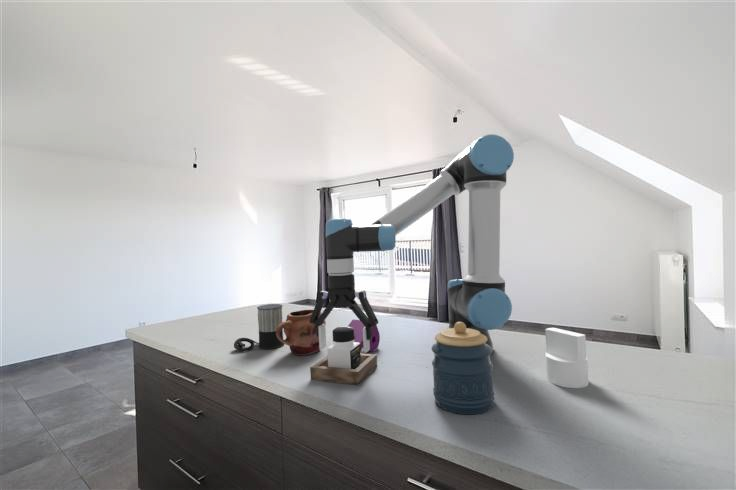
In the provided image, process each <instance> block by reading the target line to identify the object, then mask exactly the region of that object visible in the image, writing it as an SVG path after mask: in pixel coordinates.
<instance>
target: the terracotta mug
mask: <svg viewBox="0 0 736 490" xmlns="http://www.w3.org/2000/svg"><path fill="white" fill-rule="evenodd" d="M313 310H314V309H302V310H295V311H291V312H289V313H288V314H287V315H286V320H285V321H282V323H281V324H279V325H278V327H277V329H276V336H277V338H278V339H279V340H280V341H281V342H282V343H284V345H287V346H289V350H290V352H291V353H292V354H294V355H298V356H306V355H310V354H315V353H317V352H318V351H320V350H321V349H319V337H317V335H316V325H315V324H313V323H310V318H311V315H312V313H313ZM322 313H323V312H322V311H321V312H320V314H319V317H320V315H321V314H322ZM319 317H318V318H319ZM322 324H325V326H326V319H325V320H324V322H323V323H322ZM282 329H283V334H284V335H285V337H286V338H285V339H284V338H283V339H282V338H281V336H280V332H281V330H282Z"/></svg>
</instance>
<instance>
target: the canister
mask: <svg viewBox="0 0 736 490" xmlns="http://www.w3.org/2000/svg"><path fill="white" fill-rule="evenodd" d="M448 328H449V327H448ZM448 328H445V329H442V330H441V331H440V332H439V333H437V334H436V335H434V339H435V341H436V342H435V343H433V344H432V345H431V351H432V352H433V355H434V356H433V359H432V361H431V365H432V371H433V373H432V375H433V388H432V389H433V390H432V391H433V397H434V401H435V403H436V404H437V405H438V406H439V407H440V408H442V409H444V410H445V411H448V412H451V413H455V414H461V415H478V414H482V413H486V412H488V411H490V410H491V409H492V408H493V406H494V401H495V392H494V383H493V381H494V379H493V378H494V377H493V368H494V365H493V362H492V361H491V354H493V353H492V352H493V351H492V348H491V347H490V346H489V345H487V344H486V342H487V340H488V339H487V337H486V336H485V335H483V334H481V333H480V332H479V331H477V330H474V329H469V328H466V325H465V324H464V323H463V322H456V323H455V325H454V328H449V329H448Z"/></svg>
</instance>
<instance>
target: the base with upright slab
mask: <svg viewBox="0 0 736 490" xmlns="http://www.w3.org/2000/svg"><path fill="white" fill-rule="evenodd" d="M544 331H545V347H546V349H545V351H546V352H545V354H544V355H545V357H544V358H545V377H546V380H547V381H548V382H549V383H551V384H553V385H556V386H559V387H563V388H569V389H570V388H571V389H581V388H586V387H588V386H589V369H588V368H589V366H588V365H589V364H588V357H587V344H586V343H587V341H586V340H587V339H586V334H583V333H580V332H574V331H571V330H566V329H562V328H558V327H548V328H547V327H546V328H545V330H544Z"/></svg>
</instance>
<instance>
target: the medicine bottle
mask: <svg viewBox="0 0 736 490" xmlns="http://www.w3.org/2000/svg"><path fill="white" fill-rule="evenodd" d="M347 326H348V325H347ZM347 326H345V325H344V326H337V327H335V328H334V329H333V330H332V345H330V346H328V347H327V348H326V351H327V355H326V356H328V367H336V368H347V369H356V368H357V367H358V366H359V365H360V364H361V355H360V353H361V351H360V343H359V342H354V329H353V328H351V327H347Z"/></svg>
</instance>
